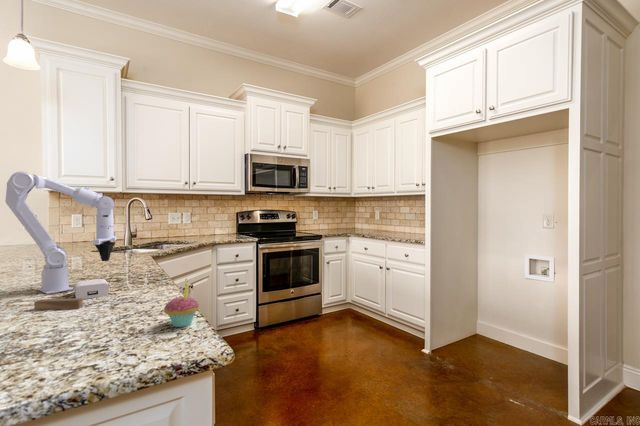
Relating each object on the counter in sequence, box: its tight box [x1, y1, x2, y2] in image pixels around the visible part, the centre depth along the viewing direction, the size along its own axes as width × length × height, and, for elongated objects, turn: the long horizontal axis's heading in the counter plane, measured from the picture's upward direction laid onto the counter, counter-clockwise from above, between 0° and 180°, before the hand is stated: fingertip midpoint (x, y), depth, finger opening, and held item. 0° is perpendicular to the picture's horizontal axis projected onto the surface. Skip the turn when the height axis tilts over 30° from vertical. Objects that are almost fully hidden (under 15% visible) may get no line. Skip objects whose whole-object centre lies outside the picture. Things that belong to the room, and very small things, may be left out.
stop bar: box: [33, 297, 84, 311], centre depth 103 cm, size 2×12×2 cm, turn 99°
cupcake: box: [163, 280, 200, 328], centre depth 90 cm, size 9×8×12 cm
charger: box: [74, 278, 110, 300], centre depth 120 cm, size 5×9×15 cm
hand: (105, 260), depth 133 cm, fingers closed
